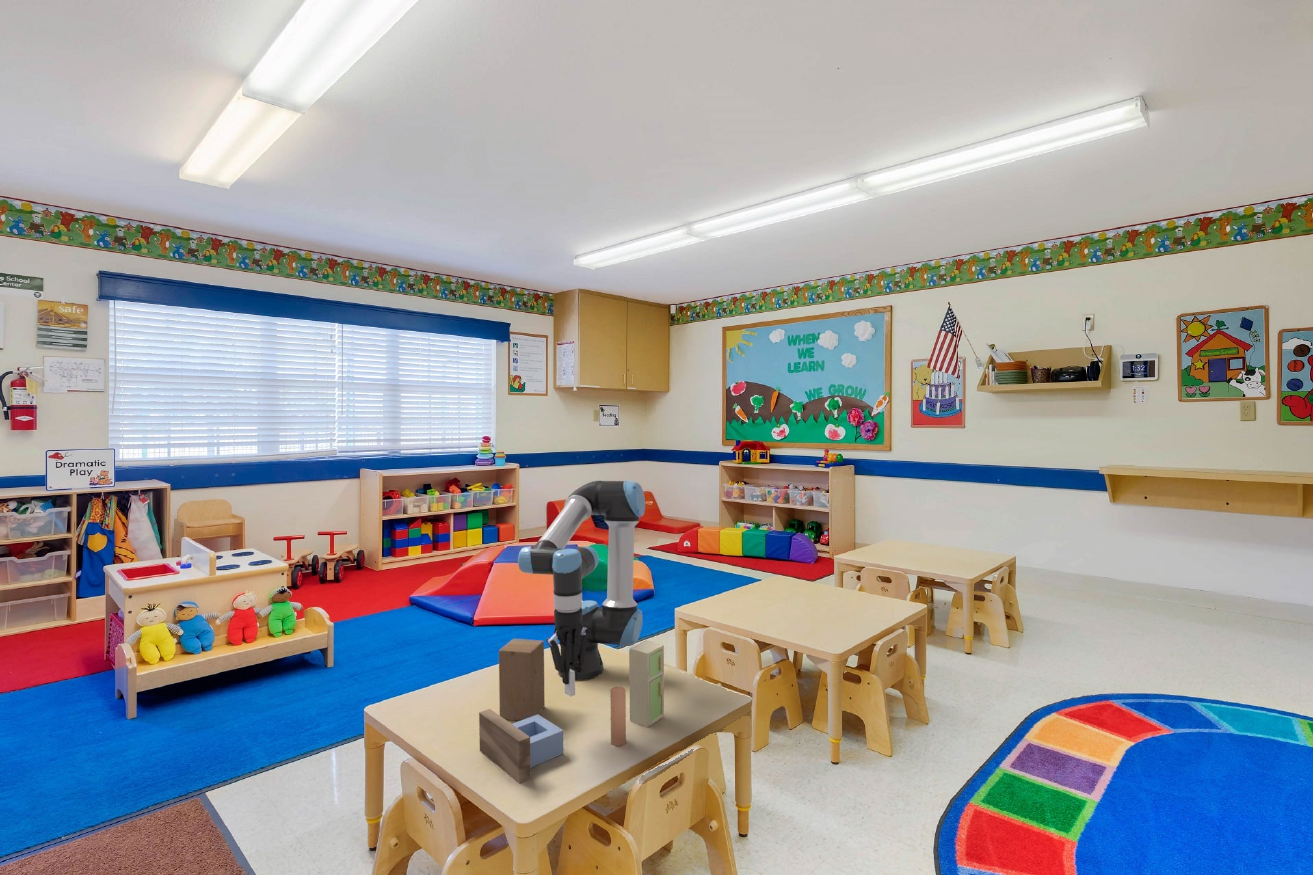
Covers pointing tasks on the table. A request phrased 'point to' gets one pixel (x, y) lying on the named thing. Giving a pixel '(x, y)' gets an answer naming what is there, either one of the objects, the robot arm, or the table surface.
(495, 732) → the wall
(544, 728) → the socket block
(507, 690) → the wooden block
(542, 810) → the table surface
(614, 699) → the dowel
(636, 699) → the toy refrigerator
